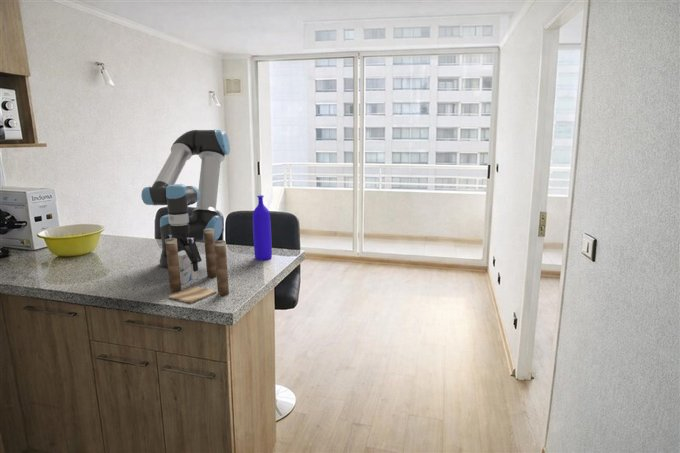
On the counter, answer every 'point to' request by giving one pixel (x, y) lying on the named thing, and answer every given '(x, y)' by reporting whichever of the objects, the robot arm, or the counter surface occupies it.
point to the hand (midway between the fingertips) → (183, 276)
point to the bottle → (262, 231)
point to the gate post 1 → (173, 264)
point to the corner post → (221, 267)
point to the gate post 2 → (210, 252)
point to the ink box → (184, 267)
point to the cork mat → (192, 294)
